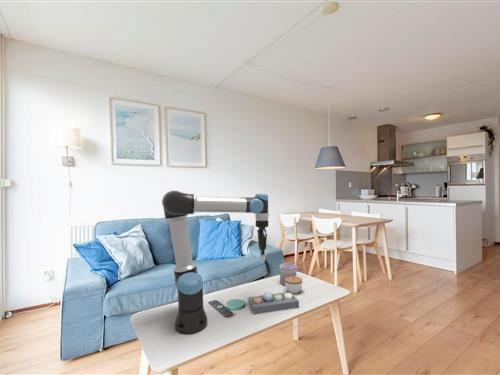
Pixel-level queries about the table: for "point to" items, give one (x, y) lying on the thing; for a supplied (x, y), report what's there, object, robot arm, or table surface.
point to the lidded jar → (293, 284)
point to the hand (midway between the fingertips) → (262, 260)
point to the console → (273, 304)
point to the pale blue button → (267, 297)
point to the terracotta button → (256, 300)
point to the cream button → (288, 296)
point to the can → (287, 271)
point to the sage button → (277, 297)
